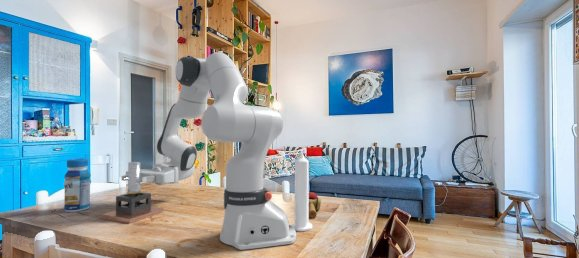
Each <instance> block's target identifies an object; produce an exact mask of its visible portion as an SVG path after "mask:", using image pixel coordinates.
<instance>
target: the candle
mask: <svg viewBox="0 0 579 258" xmlns="http://www.w3.org/2000/svg"><path fill="white" fill-rule="evenodd" d="M299 154H300V155H299V157H298V158H296V159H295V160H294V222H292V223H291V224H290V225H291V226H292V227H293V228H294V229H295V231H296V232H297V231H298V232H307V231H311V230H312V229H313V223H310V222H309V192H310V191H309V185H310V184H309V175H310V174H309V168H310V167H309V166H310V165H309V160H308V158H306V157H305V156H304V151H303V150H301V151H300V153H299Z"/></svg>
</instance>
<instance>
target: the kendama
mask: <svg viewBox="0 0 579 258" xmlns="http://www.w3.org/2000/svg"><path fill="white" fill-rule="evenodd" d="M321 203H322V198H321V197H318V195H317V193H314V192H310V191H309V216H308V218H309V219H311V218H312V219H315V218H316V217H317V214H318V213H317V211H320V210H321Z"/></svg>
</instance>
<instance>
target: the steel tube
mask: <svg viewBox="0 0 579 258" xmlns="http://www.w3.org/2000/svg"><path fill="white" fill-rule="evenodd" d="M141 164H142V163H141V161H130V162H128V164H127V171H128V180H127V192H126V194H128V197H136V196H140V193H141V192H142V190H141V182H140V178H141V169H142V168H141V166H142V165H141ZM140 201H141V200H140ZM140 201H136V202H135V206H138V205H140ZM127 203H128V207H129V202H127Z"/></svg>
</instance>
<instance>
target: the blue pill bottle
mask: <svg viewBox="0 0 579 258" xmlns="http://www.w3.org/2000/svg"><path fill="white" fill-rule="evenodd" d="M88 167H89V158H70V159H67V160H66V168H67V169H68V170H67V171H66V172H65V174H64V182H63V187H64V202H63V204H64V206H63V211H64V212H66V213H77V212H82V211H86V210H89V209H90V208H91V200H90V199H91V195H90V194H91V183H92V180H91V179H90V178H91V176H92V175H91V172H90V171H89V169H88Z"/></svg>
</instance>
